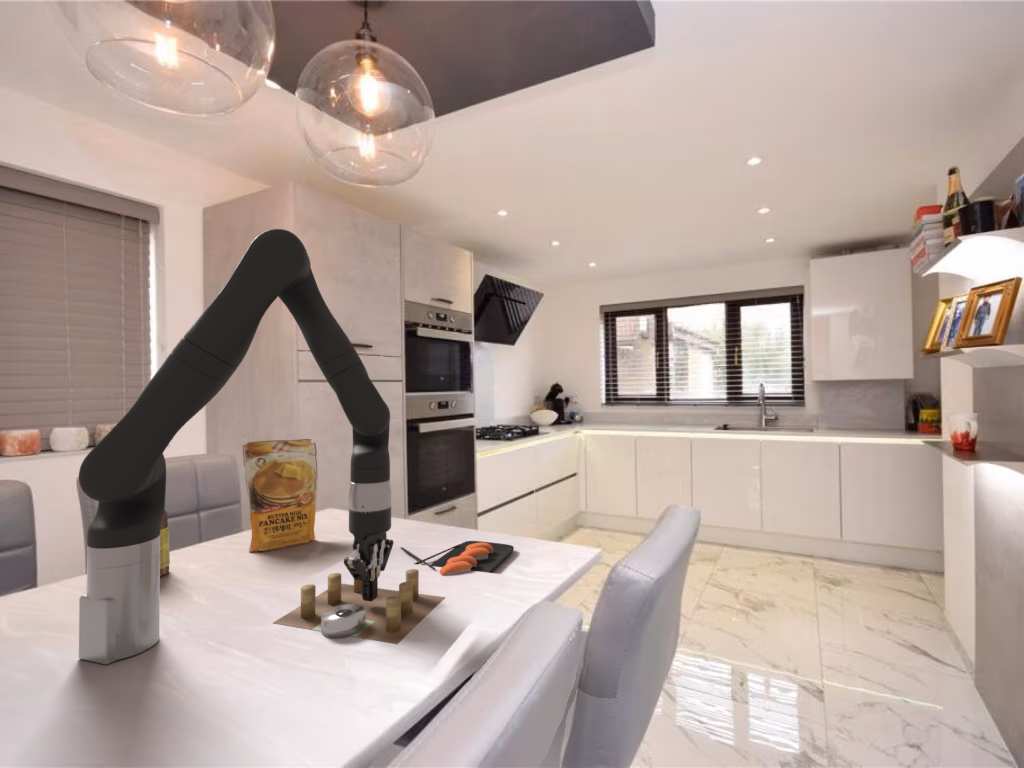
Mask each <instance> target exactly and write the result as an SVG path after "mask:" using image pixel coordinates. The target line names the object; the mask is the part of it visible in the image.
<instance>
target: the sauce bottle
mask: <svg viewBox="0 0 1024 768" xmlns="http://www.w3.org/2000/svg"><path fill="white" fill-rule="evenodd" d="M168 518H169V517H168V511H166V510H164V515H163V518H162V521H161V526H160V577H162V576H165V575H167V574H168V573H169V572H170V564H171V558H170V533H169V528H170V527H169V522H168V520H169V519H168Z"/></svg>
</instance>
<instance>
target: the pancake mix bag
mask: <svg viewBox="0 0 1024 768" xmlns="http://www.w3.org/2000/svg"><path fill="white" fill-rule="evenodd" d="M242 456H243V466H244V471H245V484H246V492H247V496H248V503H249V520H250V521H249V522H250V525H251V539H250V545H249V550H248V552H258V551H263V552H268V550H270V551H274V549H275V550H280V549H279V548H281V549H285V548H284V547H286V548H290V547H289V546H291V547H295V546H294V545H297V546H301V544H302V545H306V544H309V543H310V542H312V541H315V540H316V534H315V524H316V523H315V522H316V514H317V512H316V511H317V510H316V508H317V507H316V506H317V505H316V504H317V496H318V495H317V493H318V492H317V491H318V458H317V445H316V442H315V441H312V439H311V438H304V439H303V438H300V439H290V440H289V439H274V440H260V441H250V442H247V443H245V444H243V445H242ZM305 543H306V544H305Z"/></svg>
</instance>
